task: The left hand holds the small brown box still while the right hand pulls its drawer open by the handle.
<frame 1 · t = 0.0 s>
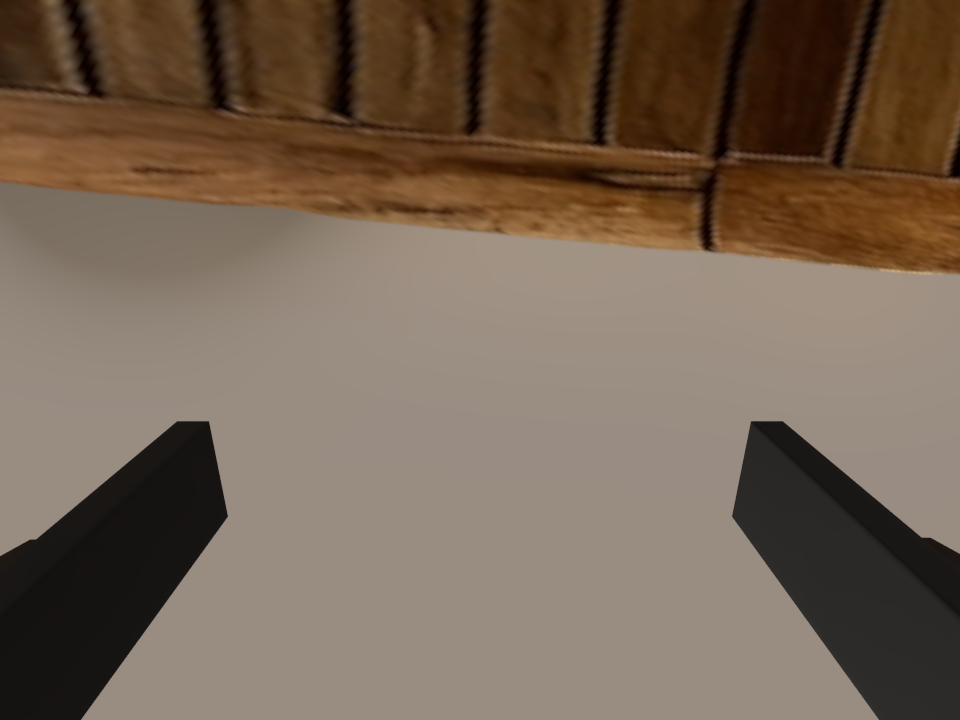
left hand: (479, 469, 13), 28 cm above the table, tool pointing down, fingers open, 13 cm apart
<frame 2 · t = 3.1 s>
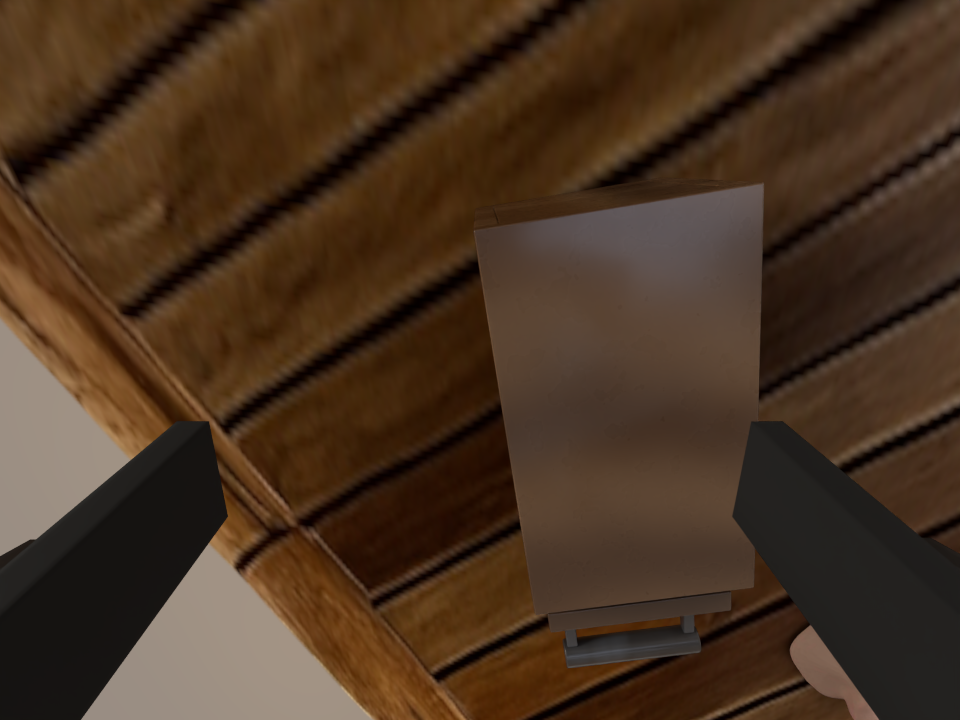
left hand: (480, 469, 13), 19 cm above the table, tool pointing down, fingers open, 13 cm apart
anatomical model: (879, 645, 40), on the table
drawer: (610, 478, 29), point 5 cm above the table, slide at 1.1 cm
brown box: (582, 347, 32), on the table
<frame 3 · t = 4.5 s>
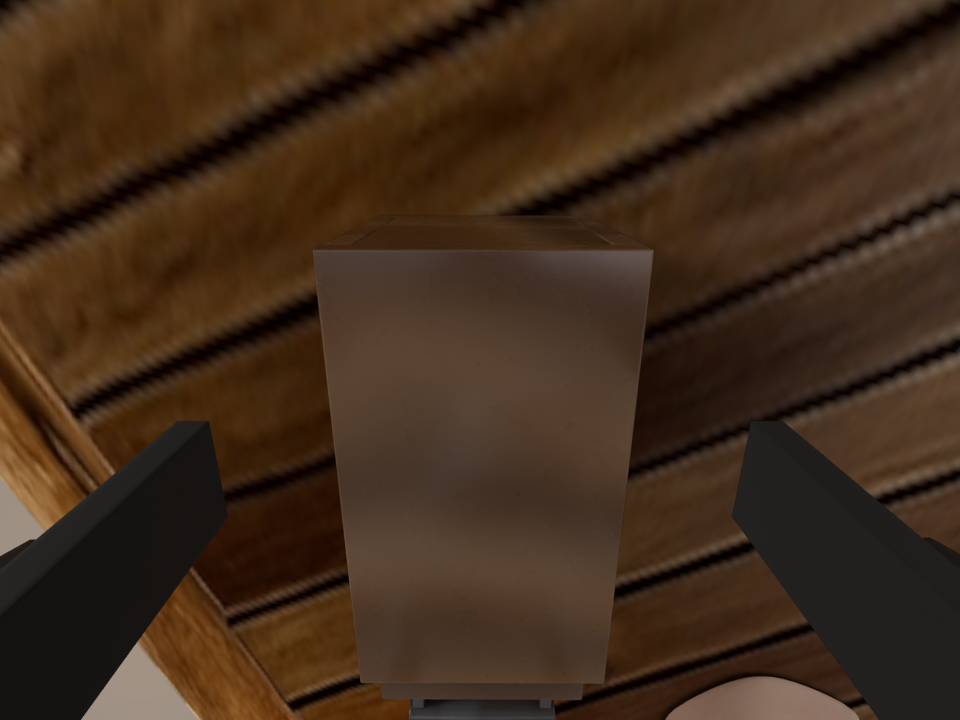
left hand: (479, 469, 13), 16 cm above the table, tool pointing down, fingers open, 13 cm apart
drawer: (482, 534, 26), point 5 cm above the table, slide at 1.1 cm
brown box: (482, 383, 29), on the table
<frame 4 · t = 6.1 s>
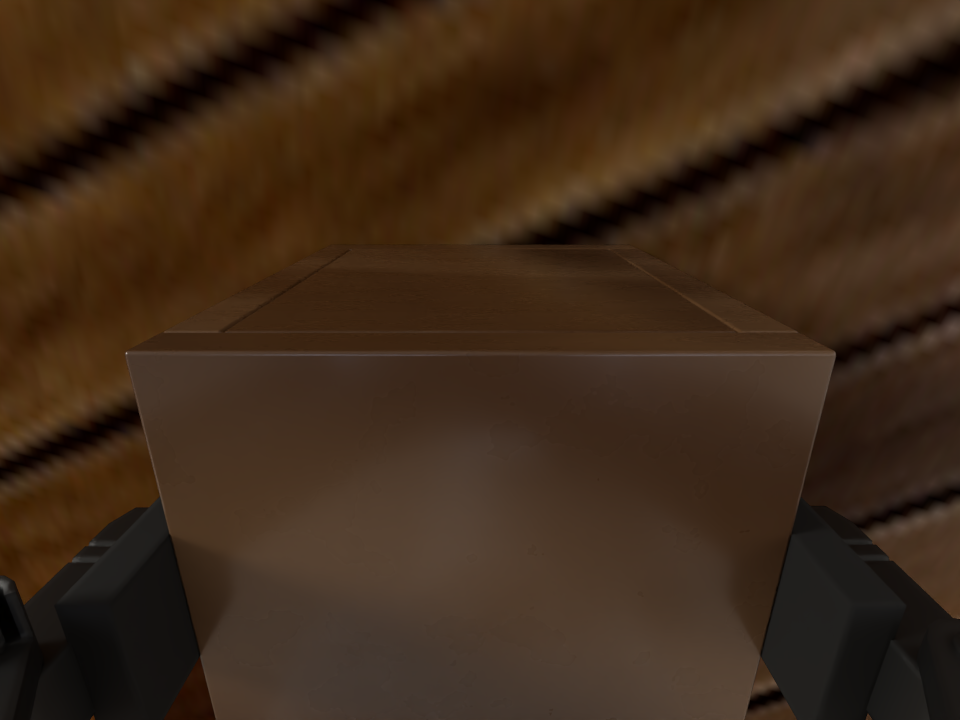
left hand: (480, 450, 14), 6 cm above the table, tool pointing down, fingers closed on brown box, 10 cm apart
brown box: (480, 474, 21), on the table, touching left hand
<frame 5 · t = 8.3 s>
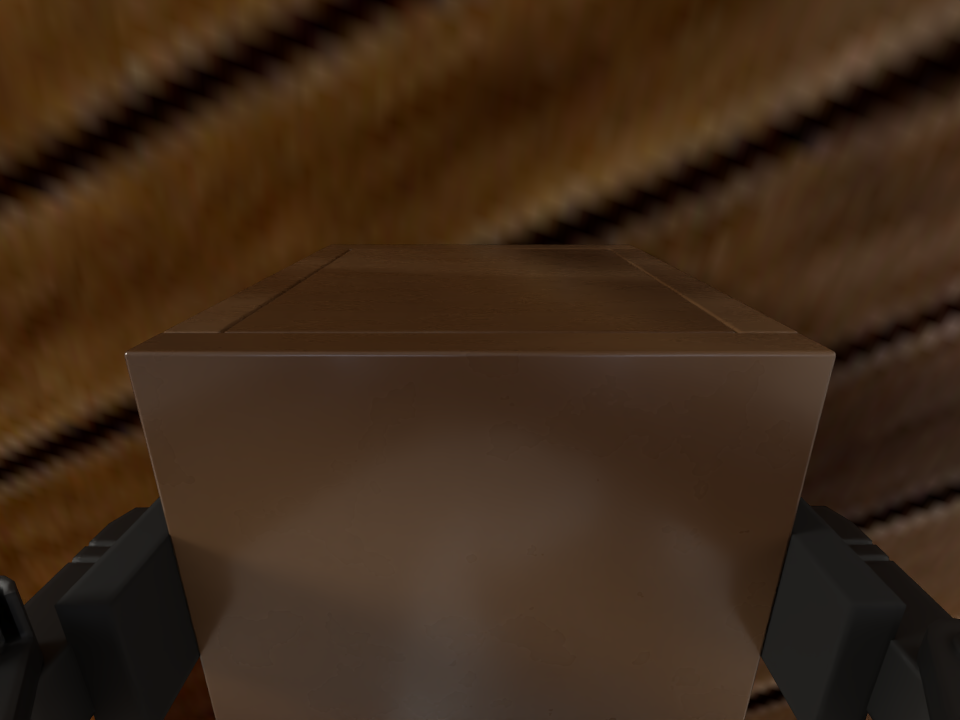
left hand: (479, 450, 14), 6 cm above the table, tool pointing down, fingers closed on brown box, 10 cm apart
brown box: (480, 473, 21), on the table, touching left hand
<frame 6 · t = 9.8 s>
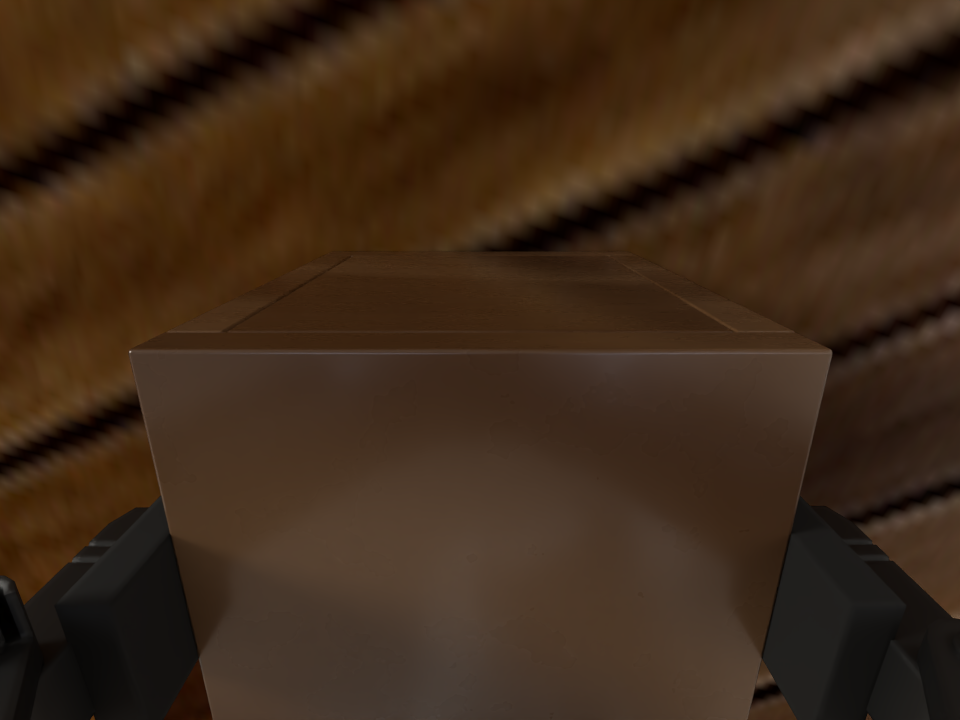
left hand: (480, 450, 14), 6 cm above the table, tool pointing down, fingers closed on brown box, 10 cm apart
brown box: (480, 480, 21), on the table, touching left hand
when the left hand's fingers open (6 cm above the table, at t = 11.0 s): brown box stays where it is, on the table.
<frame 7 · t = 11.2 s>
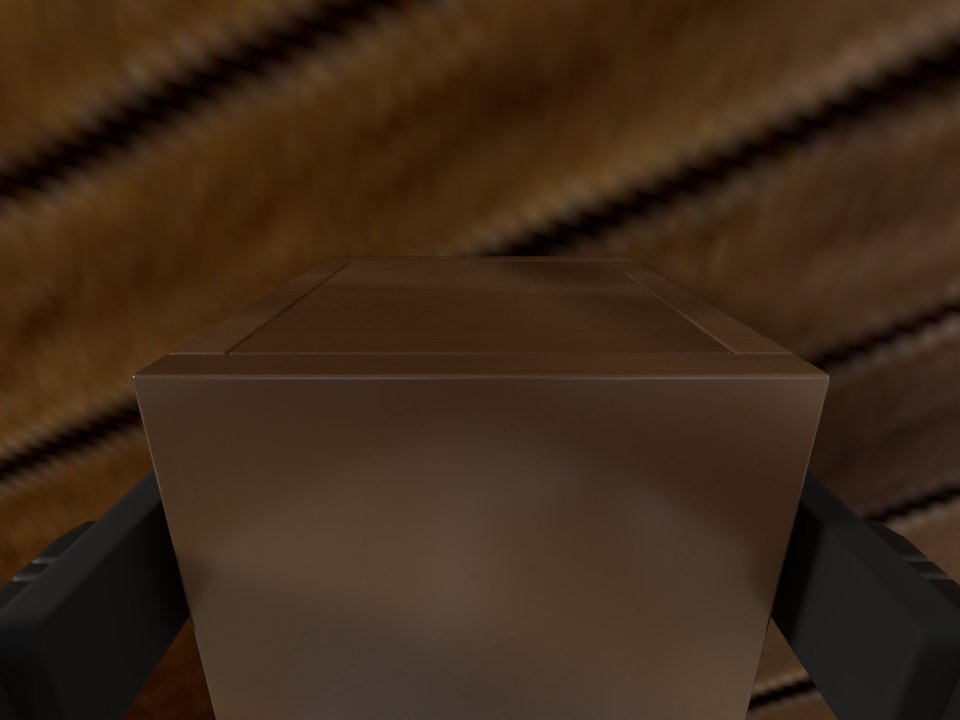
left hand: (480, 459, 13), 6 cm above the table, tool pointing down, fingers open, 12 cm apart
brown box: (480, 482, 21), on the table
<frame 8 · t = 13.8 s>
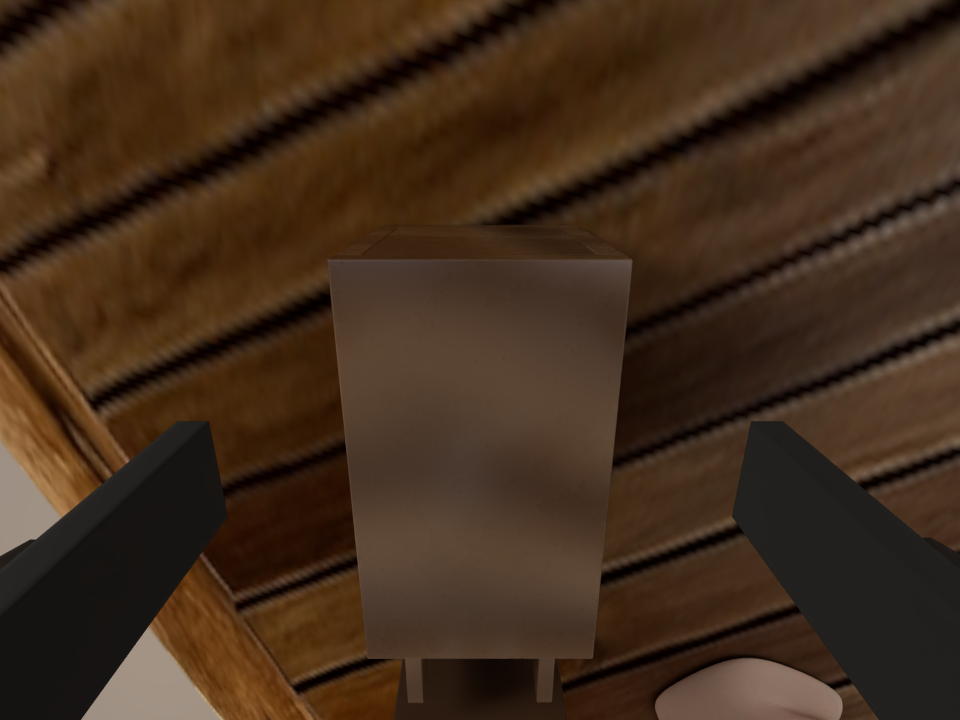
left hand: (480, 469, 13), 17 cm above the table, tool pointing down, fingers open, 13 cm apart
anatomical model: (742, 709, 40), on the table
drawer: (480, 595, 29), point 5 cm above the table, slide at 6.0 cm
brown box: (480, 382, 31), on the table
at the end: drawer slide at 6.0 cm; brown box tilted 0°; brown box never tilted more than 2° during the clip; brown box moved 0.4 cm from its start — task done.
